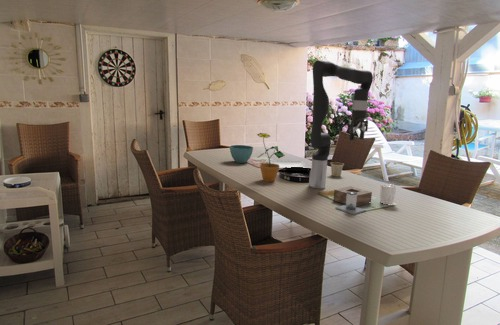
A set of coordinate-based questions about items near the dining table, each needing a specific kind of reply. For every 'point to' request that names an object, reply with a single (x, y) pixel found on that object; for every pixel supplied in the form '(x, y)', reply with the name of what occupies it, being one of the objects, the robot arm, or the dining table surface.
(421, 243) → the dining table surface
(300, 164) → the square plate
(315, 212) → the dining table surface
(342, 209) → the mat
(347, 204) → the shiny metal cylinder
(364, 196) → the housing
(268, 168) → the potted plant
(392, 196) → the white cup
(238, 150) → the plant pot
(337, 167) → the flower pot
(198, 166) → the dining table surface
